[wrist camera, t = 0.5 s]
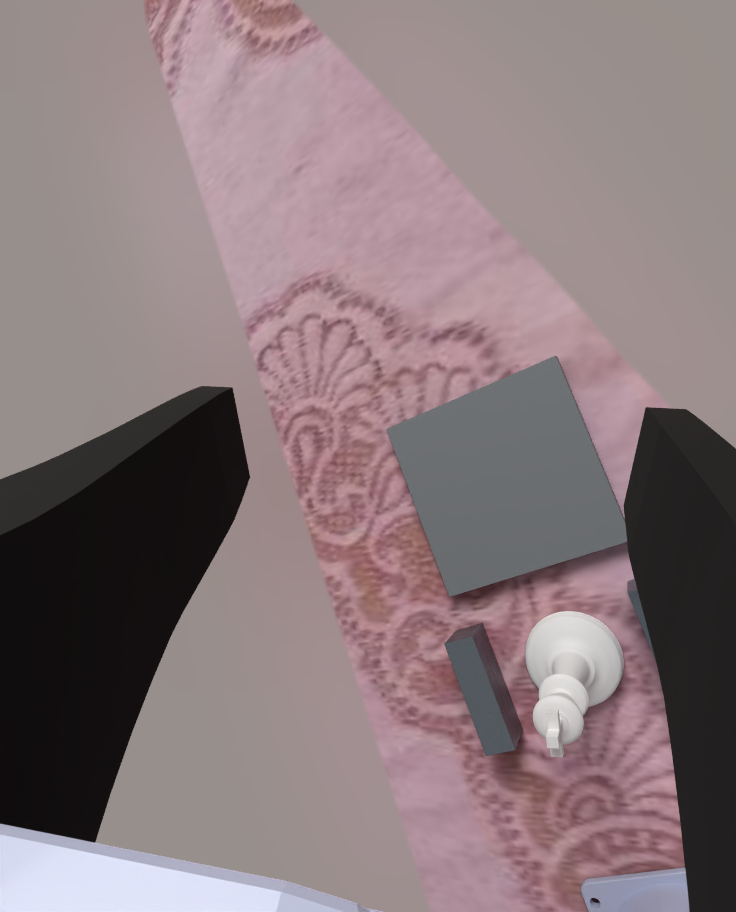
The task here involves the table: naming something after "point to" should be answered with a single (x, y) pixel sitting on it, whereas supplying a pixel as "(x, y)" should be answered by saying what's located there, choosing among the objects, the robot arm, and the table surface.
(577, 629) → the chess piece
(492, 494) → the mat
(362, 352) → the table surface
